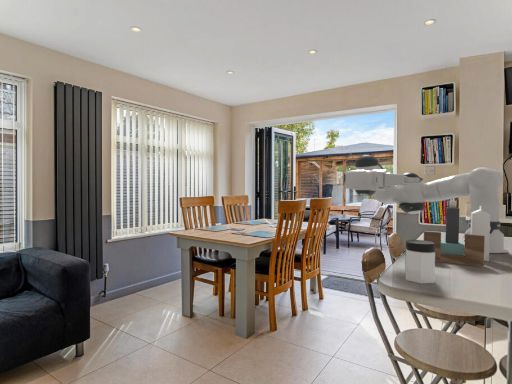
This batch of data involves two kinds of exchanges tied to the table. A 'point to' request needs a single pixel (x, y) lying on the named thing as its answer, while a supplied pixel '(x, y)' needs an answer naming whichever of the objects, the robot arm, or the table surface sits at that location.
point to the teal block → (452, 248)
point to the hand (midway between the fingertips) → (419, 180)
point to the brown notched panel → (471, 251)
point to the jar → (420, 261)
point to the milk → (481, 228)
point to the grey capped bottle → (452, 223)
